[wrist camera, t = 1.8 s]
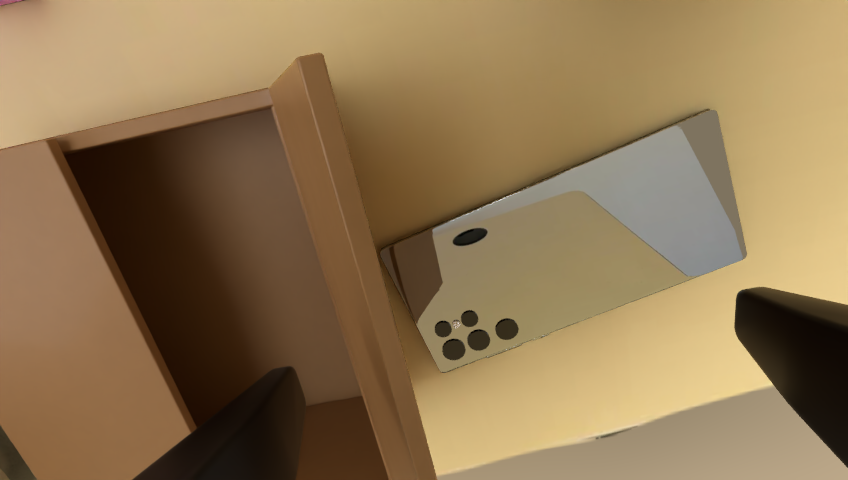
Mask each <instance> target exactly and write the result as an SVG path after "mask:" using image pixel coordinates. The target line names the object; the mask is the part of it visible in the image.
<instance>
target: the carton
mask: <svg viewBox="0 0 848 480" xmlns="http://www.w3.org/2000/svg"><path fill="white" fill-rule="evenodd" d="M286 366H292V367H293V368H294V369H295V370H296V373H297V375H298V378H299V381H300V384H301V387H302V390H303V393H304V396H305V400H306V413H305V420H304V427H303V434H302V441H301V448H300V455H299V463H298V469H297V475H296V480H391V477H390V474H389V470H388V467H387V464H386V461H385V458H384V455H383V451H382V448H381V445H380V442H379V439H378V436H377V432H376V429H375V426H374V423H373V420H372V417H371V413H370V410H369V407H368V404H367V401H366V398H365V394H364V391H363V388H362V385H361V382H360V378H359V375H358V372H357V369H356V366H355V363H354V359H353V356H352V353H351V350H350V347H349V344H348V340H347V337H346V334H345V331H344V328H343V325H342V321H341V318H340V315H339V312H338V309H337V305H336V302H335V299H334V296H333V293H332V290H331V286H330V283H329V280H328V277H327V274H326V271H325V267H324V264H323V261H322V258H321V255H320V252H319V248H318V245H317V242H316V239H315V236H314V232H313V229H312V226H311V223H310V220H309V217H308V213H307V210H306V207H305V204H304V201H303V198H302V194H301V191H300V188H299V185H298V182H297V179H296V175H295V172H294V169H293V166H292V163H291V160H290V156H289V153H288V150H287V147H286V144H285V140H284V137H283V134H282V131H281V128H280V125H279V121H278V118H277V115H276V112H275V109H274V106H273V102H272V99H271V96H270V93H269V88H265V89H260V90H256V91H251V92H247V93H243V94H238V95H234V96H230V97H225V98H221V99H217V100H212V101H208V102H204V103H199V104H195V105H191V106H186V107H182V108H178V109H173V110H169V111H165V112H160V113H156V114H151V115H147V116H143V117H138V118H134V119H130V120H125V121H121V122H117V123H112V124H108V125H104V126H99V127H95V128H91V129H86V130H82V131H78V132H73V133H69V134H64V135H60V136H56V137H51V138H47V139H43V140H38V141H34V142H30V143H25V144H21V145H17V146H12V147H8V148H4V149H0V425H1V427H2V428H3V430H4V431H5V433H6V434H7V436H8V437H9V439H10V440H11V442H12V443H13V445H14V446H15V448H16V449H17V451H18V452H19V453H20V455H21V456H22V458H23V459H24V461H25V462H26V464H27V465H28V467H29V468H30V470H31V471H32V473H33V474H34V476H35V477H36V479H37V480H132V479H133V478H134V477H136V476H137V475H138V474H140V473H141V472H142V471H143V470H145V469H146V468H147V467H148V466H150V465H151V464H152V463H153V462H155V461H156V460H157V459H159V458H160V457H161V456H162V455H164V454H165V453H166V452H167V451H169V450H170V449H171V448H173V447H174V446H175V445H176V444H178V443H179V442H180V441H181V440H183V439H184V438H185V437H187V436H188V435H189V434H190V433H192V432H193V431H194V430H195V429H197V428H198V427H199V426H201V425H202V424H203V423H204V422H206V421H207V420H208V419H209V418H211V417H212V416H213V415H215V414H216V413H217V412H218V411H220V410H221V409H222V408H223V407H225V406H226V405H227V404H229V403H230V402H231V401H232V400H234V399H235V398H236V397H237V396H239V395H240V394H241V393H242V392H244V391H245V390H246V389H248V388H249V387H250V386H251V385H253V384H254V383H255V382H256V381H258V380H259V379H260V378H262V377H263V376H264V375H265V374H267V373H268V372H269V371H270V370H272V369H274V368H280V367H286Z"/></svg>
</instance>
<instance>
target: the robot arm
mask: <svg viewBox="0 0 848 480" xmlns="http://www.w3.org/2000/svg"><path fill="white" fill-rule="evenodd" d="M735 332H736V335H737V337H738V339H739V340H740V342H741V343H742V344H743V346H744V347H745V348H746V349H747V351H748V352H749V353H750V355H751V356H752V357H753V359H754V360H755V361H756V363H757V364H758V365H759V366H760V368H761V369H762V370H763V372H764V373H765V374H766V376H767V377H768V378H769V379H770V381H771V382H772V383H773V385H774V386H775V387H776V389H777V390H778V391H779V392H780V394H781V395H782V396H783V397H784V399H785V400H786V401H787V402H788V404H789V405H790V406H791V407H792V408H793V409H794V410H795V411H796V413H797V414H798V415H799V416H800V417H801V418H802V419H803V420H804V421H805V422H806V424H808V426H809V427H810V428H811V429H812V430H813V431H814V432H815V433H816V434H817V435H818V436H819V437H820V439H821V440H822V441H823V442H824V443H825V444H826V445H827V446H828V447H829V448H830V449H831V450H832V451H833V452H834V454H835V455H836V456H837V457H838V458H839V459H840V460H841V461H842V462H843V463H844V464H845V465H846V467H847V468H848V305H845V304H840V303H836V302H831V301H826V300H822V299H817V298H813V297H808V296H803V295H799V294H794V293H789V292H785V291H780V290H776V289H771V288H766V287H756V288H751V289H745V290H741V291H740V292H739V293H738V294H737V297H736V310H735ZM305 413H306V400H305V396H304V393H303V390H302V387H301V384H300V381H299V378H298V375H297V373H296V370H295V369H294V368H293V367H292V366H286V367H280V368H274V369H272V370H270V371H269V372H268V373H267V374H265V375H264V376H263V377H262V378H260V379H259V380H258V381H256V382H255V383H254V384H253V385H251V386H250V387H249V388H248V389H246V390H245V391H244V392H242V393H241V394H240V395H239V396H237V397H236V398H235V399H234V400H232V401H231V402H230V403H229V404H227V405H226V406H225V407H223V408H222V409H221V410H220V411H218V412H217V413H216V414H215V415H213V416H212V417H211V418H209V419H208V420H207V421H206V422H204V423H203V424H202V425H201V426H199V427H198V428H197V429H195V430H194V431H193V432H192V433H190V434H189V435H188V436H187V437H185V438H184V439H183V440H181V441H180V442H179V443H178V444H176V445H175V446H174V447H173V448H171V449H170V450H169V451H167V452H166V453H165V454H164V455H162V456H161V457H160V458H159V459H157V460H156V461H155V462H153V463H152V464H151V465H150V466H148V467H147V468H146V469H145V470H143V471H142V472H141V473H140V474H138V475H137V476H136V477H134V478H133V479H132V480H296V475H297V469H298V463H299V455H300V448H301V441H302V434H303V427H304V420H305Z"/></svg>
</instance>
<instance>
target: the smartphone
mask: <svg viewBox="0 0 848 480" xmlns="http://www.w3.org/2000/svg"><path fill="white" fill-rule="evenodd" d="M746 255H747V252H746V248H745V243H744V238H743V233H742V229H741V224H740V219H739V214H738V209H737V205H736V200H735V195H734V190H733V186H732V181H731V176H730V171H729V167H728V162H727V157H726V152H725V148H724V143H723V138H722V133H721V129H720V124H719V119H718V114H717V112H716V111H715V110H710V109H707V110H705V111H702V112H700V113H697V114H695V115H693V116H690V117H688V118H686V119H683V120H681V121H679V122H676V123H674V124H672V125H669V126H667V127H665V128H662V129H660V130H658V131H655V132H653V133H651V134H648V135H646V136H644V137H641V138H639V139H637V140H634V141H632V142H630V143H627V144H625V145H623V146H620V147H618V148H616V149H613V150H611V151H609V152H606V153H604V154H602V155H599V156H597V157H594V158H592V159H590V160H587V161H585V162H583V163H580V164H578V165H576V166H573V167H571V168H569V169H566V170H564V171H562V172H559V173H557V174H555V175H552V176H550V177H548V178H545V179H543V180H541V181H538V182H536V183H534V184H531V185H529V186H527V187H524V188H522V189H520V190H517V191H515V192H513V193H510V194H508V195H506V196H503V197H501V198H499V199H496V200H494V201H491V202H489V203H487V204H484V205H482V206H480V207H477V208H475V209H473V210H470V211H468V212H466V213H463V214H461V215H459V216H456V217H454V218H452V219H449V220H447V221H445V222H442V223H440V224H438V225H435V226H433V227H431V228H428V229H426V230H424V231H421V232H419V233H417V234H414V235H412V236H410V237H407V238H405V239H403V240H400V241H398V242H396V243H393V244H391V245H388V246H386V247H384V248H381V252H380V256H381V258H382V260H383V262H384V264H385V266H386V268H387V270H388V272H389V274H390V276H391V277H392V279H393V281H394V283H395V285H396V287H397V289H398V291H399V293H400V295H401V297H402V299H403V301H404V303H405V305H406V306H407V308H408V310H409V312H410V314H411V316H412V318H413V320H414V322H415V324H416V326H417V328H418V330H419V332H420V334H421V335H422V337H423V339H424V341H425V343H426V345H427V347H428V349H429V351H430V353H431V355H432V357H433V359H434V361H435V362H436V364H437V366H438V368H439V370H440V372H443V373H446V372H449V371H451V370H454V369H456V368H459V367H462V366H464V365H467V364H470V363H472V362H475V361H477V360H480V359H483V358H485V357H487V358H489V357H491V356H494V355H497V354H499V353H502V352H505V351H507V350H510V349H512V348H515V347H518V346H520V345H522V343H525V342H527V341H530V340H536V339H539V338H541V337H544V336H547V335H549V333H551V332H554V331H556V330H559V329H562V328H564V327H567V326H570V325H572V324H575V323H577V322H580V321H583V320H585V319H588V318H591V317H593V316H596V315H598V314H601V313H604V312H606V311H609V310H612V309H614V308H617V307H619V306H622V305H625V304H627V303H630V302H633V301H635V300H638V299H641V298H643V297H646V296H648V295H651V294H654V293H656V292H659V291H662V290H664V289H667V288H669V287H672V286H675V285H677V284H680V283H683V282H685V281H688V280H691V279H693V278H696V277H698V276H701V275H704V274H706V273H709V272H712V271H714V270H717V269H719V268H722V267H725V266H727V265H730V264H733V263H735V262H738V261H741V260H743V259H744V258H745V257H746Z"/></svg>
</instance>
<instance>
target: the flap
mask: <svg viewBox="0 0 848 480" xmlns="http://www.w3.org/2000/svg"><path fill="white" fill-rule="evenodd" d="M269 93H270V96H271V99H272V102H273V106H274V109H275V112H276V115H277V118H278V121H279V125H280V128H281V131H282V134H283V137H284V140H285V144H286V147H287V150H288V153H289V156H290V160H291V163H292V166H293V169H294V172H295V175H296V179H297V182H298V185H299V188H300V191H301V194H302V198H303V201H304V204H305V207H306V210H307V213H308V217H309V220H310V223H311V226H312V229H313V232H314V236H315V239H316V242H317V245H318V248H319V252H320V255H321V258H322V261H323V264H324V267H325V271H326V274H327V277H328V280H329V283H330V286H331V290H332V293H333V296H334V299H335V302H336V305H337V309H338V312H339V315H340V318H341V321H342V325H343V328H344V331H345V334H346V337H347V340H348V344H349V347H350V350H351V353H352V356H353V359H354V363H355V366H356V369H357V372H358V375H359V378H360V382H361V385H362V388H363V391H364V394H365V398H366V401H367V404H368V407H369V410H370V413H371V417H372V420H373V423H374V426H375V429H376V432H377V436H378V439H379V442H380V445H381V448H382V451H383V455H384V458H385V461H386V464H387V467H388V470H389V474H390V477H391V480H437V477H436V473H435V470H434V466H433V462H432V458H431V455H430V451H429V447H428V444H427V440H426V436H425V432H424V429H423V425H422V421H421V417H420V414H419V410H418V406H417V403H416V399H415V395H414V391H413V388H412V384H411V380H410V376H409V373H408V369H407V365H406V361H405V358H404V354H403V350H402V347H401V343H400V339H399V335H398V332H397V328H396V324H395V320H394V317H393V313H392V309H391V306H390V302H389V298H388V294H387V291H386V287H385V283H384V279H383V276H382V272H381V268H380V265H379V261H378V257H377V253H376V250H375V246H374V242H373V238H372V235H371V231H370V227H369V224H368V220H367V216H366V212H365V209H364V205H363V201H362V197H361V194H360V190H359V186H358V183H357V179H356V175H355V171H354V168H353V164H352V160H351V156H350V153H349V149H348V145H347V142H346V138H345V134H344V130H343V127H342V123H341V119H340V115H339V112H338V108H337V104H336V101H335V97H334V93H333V89H332V86H331V82H330V78H329V74H328V71H327V67H326V63H325V60H324V56H323V54H322V53H316V54H311V55H306V56H300V57H298V58H296V59H295V61H294V62H293V63H292V64H291V65H290V66H289V67H288V68H287V69H286V70H285V71H284V72H283V73H282V75H281V76H280V77H279V78H278V79H277V80H276V81H275V82H274V83H273V84H272V85H271V86H270V87H269Z"/></svg>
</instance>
